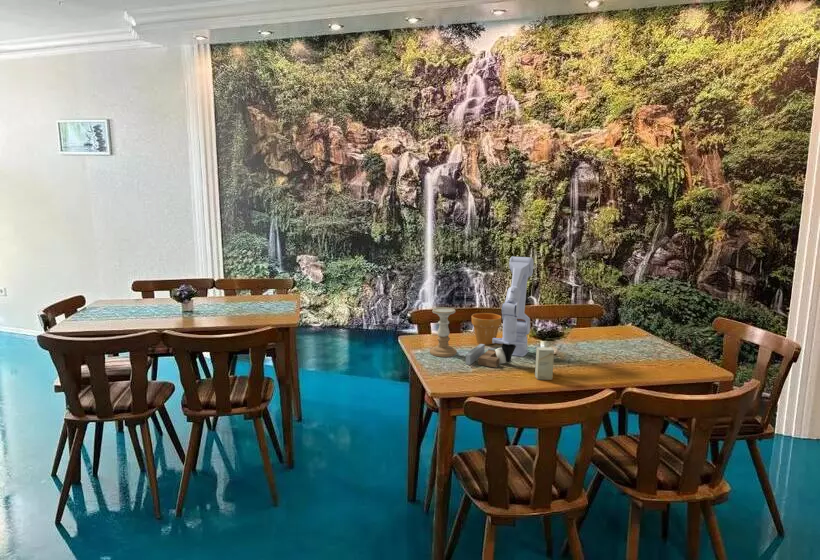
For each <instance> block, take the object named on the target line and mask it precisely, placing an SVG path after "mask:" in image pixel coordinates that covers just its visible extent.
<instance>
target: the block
mask: <svg viewBox="0 0 820 560" xmlns="http://www.w3.org/2000/svg"><path fill="white" fill-rule="evenodd" d="M477 365H478V366H483V367H490V368H497V367H498V366H499V365H500V364H499V358H497V355H496V351H495V350H494V349H488V350H487V351H486V352H485V351H484V354H483V355H481V356H480V357H479V358H478V359H477Z"/></svg>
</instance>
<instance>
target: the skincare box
mask: <svg viewBox="0 0 820 560" xmlns="http://www.w3.org/2000/svg"><path fill="white" fill-rule="evenodd" d="M554 356H555V349H554V348H553V347H551V346H550V347H545V346H544V347H541V346H537V347H536V352H535V367H534V368H535V369H534V370H535V371H534V376H535V378H536V380H548V381H549V380H551V381H552V380H553V378H554V377H553V376H554V375H553V374H554V359H555V357H554Z"/></svg>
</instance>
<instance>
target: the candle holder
mask: <svg viewBox="0 0 820 560" xmlns="http://www.w3.org/2000/svg"><path fill="white" fill-rule="evenodd" d="M432 313H433V314H434V315H435V314H436V315H437V316H438V317H439V321H437V323H438V324H439V325H438V329H437V335H438V336H437V338H436V340H437V345H435V346H434V347H432V348H430V349H429V354H430V355H431V356H434V357H439V358H449V357H454V356H456V355H457V353H458V351H457V349H456V348H454V347H453V346H452V345H449V341H450V339H451V338H450V329H449V324H450V321H449V319H448V318H449V316H450V315H454V314H455V313H456V309H455V308H452V307H440V306H439V307H433V309H432Z"/></svg>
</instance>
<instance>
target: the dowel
mask: <svg viewBox="0 0 820 560" xmlns="http://www.w3.org/2000/svg"><path fill="white" fill-rule="evenodd" d="M495 351H496V355H497V358H499V365H501V364H506V363H507V362H506V357H505V353H504V351H503V349H502V347H498V348H496V349H495Z"/></svg>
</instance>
